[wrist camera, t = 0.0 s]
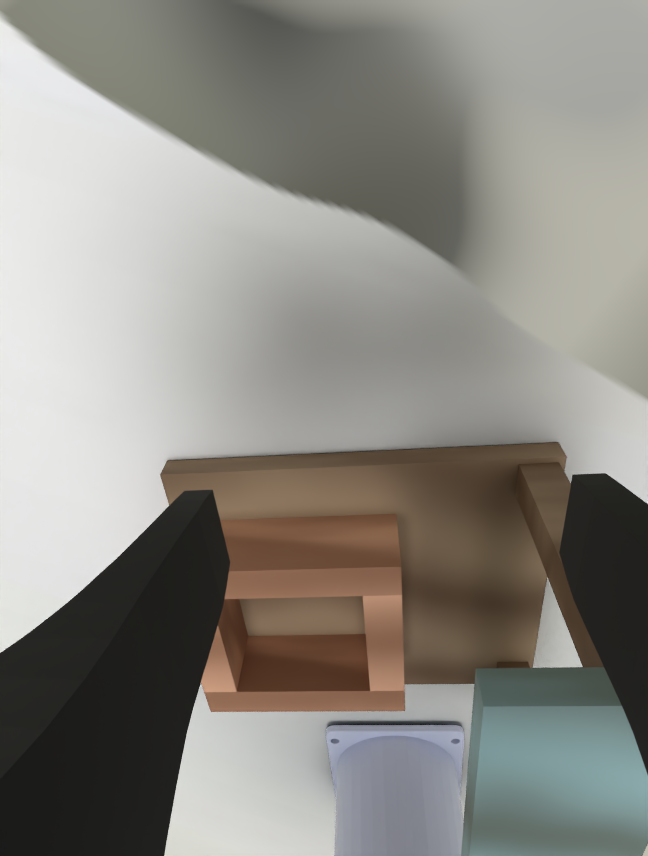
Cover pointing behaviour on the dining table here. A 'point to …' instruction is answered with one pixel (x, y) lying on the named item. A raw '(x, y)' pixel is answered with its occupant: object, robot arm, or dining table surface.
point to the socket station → (427, 624)
